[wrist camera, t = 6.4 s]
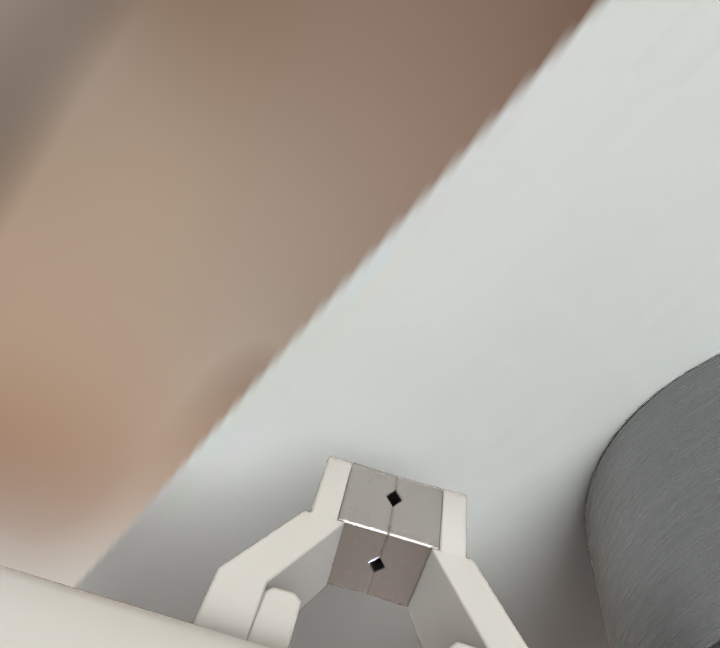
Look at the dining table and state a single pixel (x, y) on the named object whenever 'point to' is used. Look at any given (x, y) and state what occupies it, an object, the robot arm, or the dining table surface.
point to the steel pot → (661, 520)
